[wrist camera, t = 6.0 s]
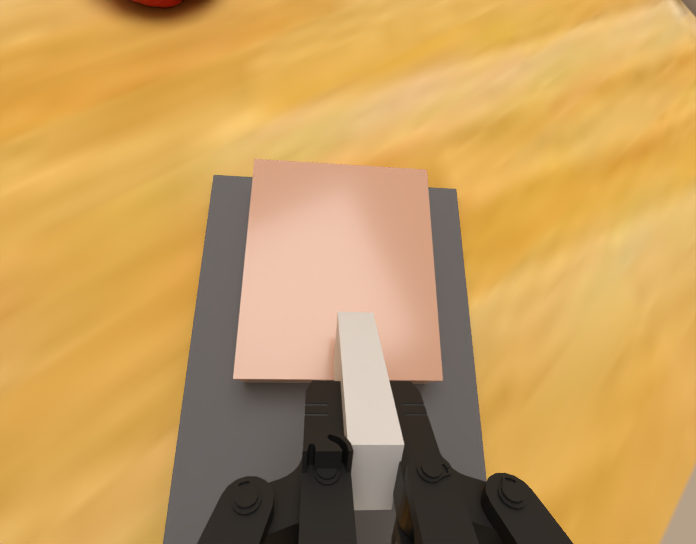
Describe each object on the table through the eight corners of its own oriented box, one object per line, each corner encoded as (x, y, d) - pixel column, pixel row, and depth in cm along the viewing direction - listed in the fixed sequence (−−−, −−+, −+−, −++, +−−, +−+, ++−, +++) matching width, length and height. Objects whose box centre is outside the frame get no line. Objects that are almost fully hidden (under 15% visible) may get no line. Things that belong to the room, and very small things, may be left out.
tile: (232, 378, 18) (254, 158, 22) (243, 382, 20) (260, 187, 24) (442, 380, 19) (426, 169, 22) (425, 383, 21) (413, 195, 25)
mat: (164, 564, 18) (159, 569, 17) (215, 180, 25) (213, 174, 24) (489, 553, 20) (494, 557, 19) (452, 193, 26) (456, 189, 26)
